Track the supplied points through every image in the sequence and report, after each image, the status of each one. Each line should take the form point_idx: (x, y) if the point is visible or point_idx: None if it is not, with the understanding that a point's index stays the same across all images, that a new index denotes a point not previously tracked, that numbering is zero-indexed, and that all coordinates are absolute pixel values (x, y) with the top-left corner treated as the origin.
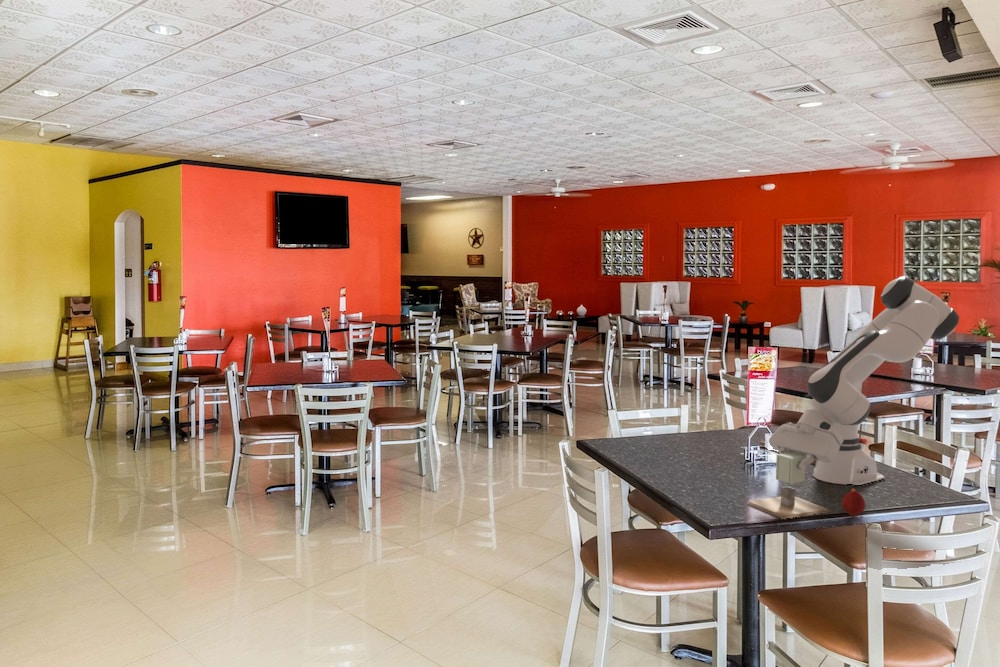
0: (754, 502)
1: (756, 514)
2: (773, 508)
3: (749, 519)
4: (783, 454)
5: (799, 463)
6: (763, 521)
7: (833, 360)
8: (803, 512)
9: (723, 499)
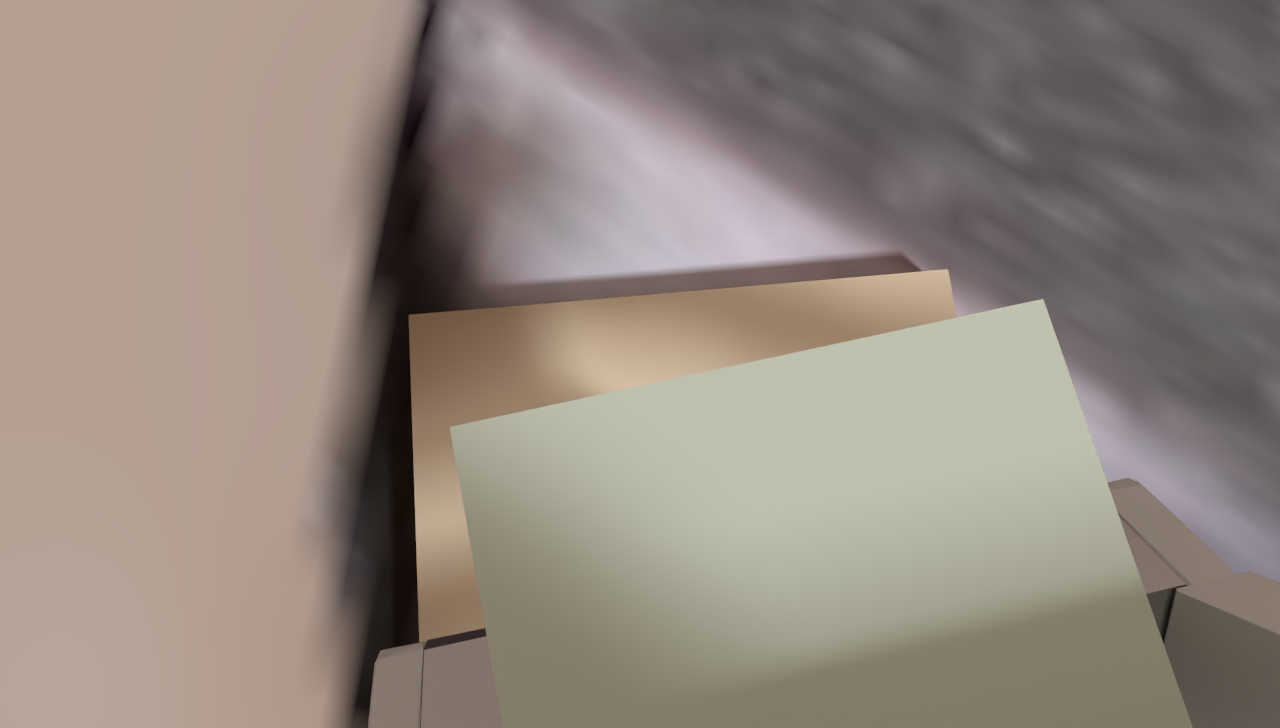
0: (885, 300)
1: (632, 177)
2: (649, 371)
3: (527, 38)
4: (1020, 523)
5: (444, 692)
6: (439, 122)
7: None
8: (430, 615)
9: (1133, 136)
